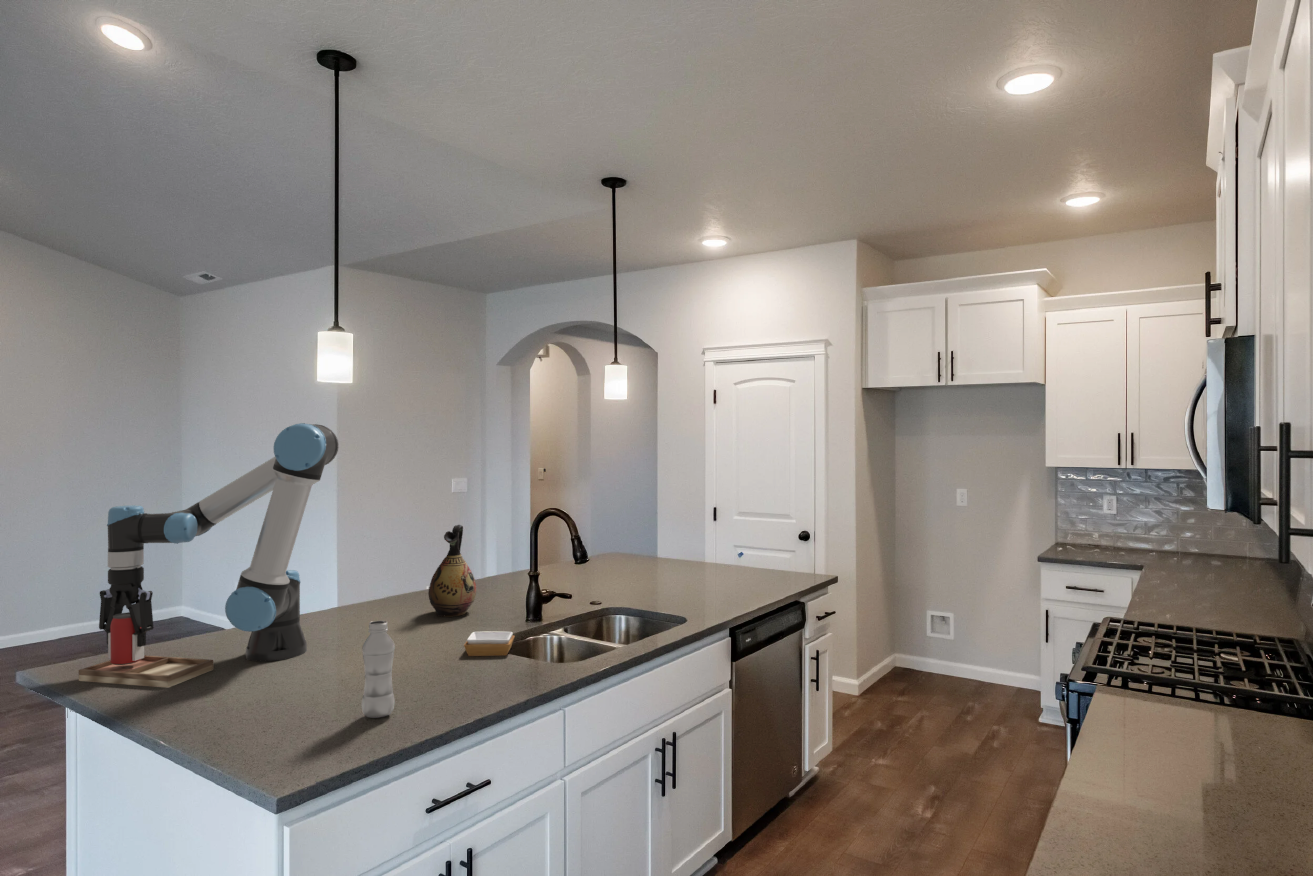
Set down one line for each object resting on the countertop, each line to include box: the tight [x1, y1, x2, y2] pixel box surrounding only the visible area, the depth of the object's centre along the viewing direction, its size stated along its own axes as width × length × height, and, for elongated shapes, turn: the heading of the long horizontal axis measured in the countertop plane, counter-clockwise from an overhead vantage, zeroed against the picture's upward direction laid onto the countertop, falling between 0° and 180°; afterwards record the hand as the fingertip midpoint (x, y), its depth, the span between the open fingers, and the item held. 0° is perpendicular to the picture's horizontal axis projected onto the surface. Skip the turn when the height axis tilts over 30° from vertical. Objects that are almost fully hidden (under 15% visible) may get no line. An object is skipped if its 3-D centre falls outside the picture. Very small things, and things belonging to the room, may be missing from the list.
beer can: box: [110, 611, 141, 665], centre depth 195 cm, size 7×7×12 cm
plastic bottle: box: [361, 620, 396, 719], centre depth 165 cm, size 6×7×20 cm
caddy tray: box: [78, 654, 214, 689], centre depth 194 cm, size 26×14×3 cm, turn 78°
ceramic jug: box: [427, 524, 477, 618], centre depth 259 cm, size 17×15×30 cm
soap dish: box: [463, 630, 516, 657], centre depth 214 cm, size 12×10×5 cm
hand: (126, 658), depth 195 cm, fingers closed on beer can, 7 cm apart
